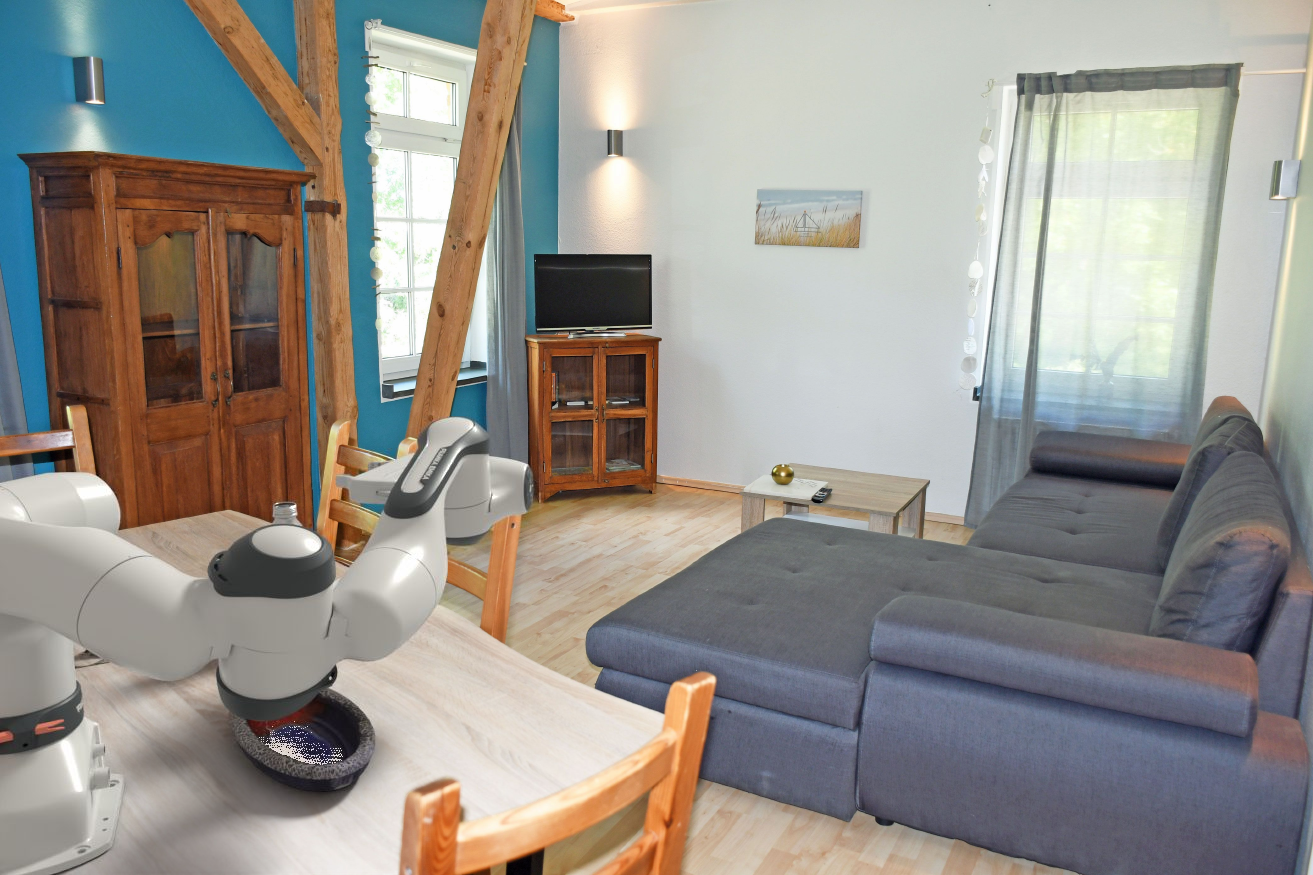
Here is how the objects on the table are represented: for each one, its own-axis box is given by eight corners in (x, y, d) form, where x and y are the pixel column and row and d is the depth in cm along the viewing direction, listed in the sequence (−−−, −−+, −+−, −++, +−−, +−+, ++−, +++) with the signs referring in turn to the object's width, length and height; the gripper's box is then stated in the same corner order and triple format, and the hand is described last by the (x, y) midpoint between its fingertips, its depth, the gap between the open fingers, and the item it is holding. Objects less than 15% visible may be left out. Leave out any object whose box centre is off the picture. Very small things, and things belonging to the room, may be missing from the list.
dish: (280, 823, 112) (278, 783, 111) (207, 719, 136) (204, 686, 135) (406, 779, 122) (405, 743, 121) (317, 690, 145) (316, 658, 144)
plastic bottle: (277, 631, 157) (270, 512, 153) (265, 618, 162) (257, 503, 158) (317, 622, 161) (311, 506, 157) (303, 610, 166) (298, 497, 162)
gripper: (402, 517, 141) (317, 509, 144) (463, 484, 160) (387, 478, 164) (401, 475, 140) (315, 468, 143) (462, 447, 159) (386, 441, 162)
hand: (354, 473), depth 153 cm, fingers open, 8 cm apart
